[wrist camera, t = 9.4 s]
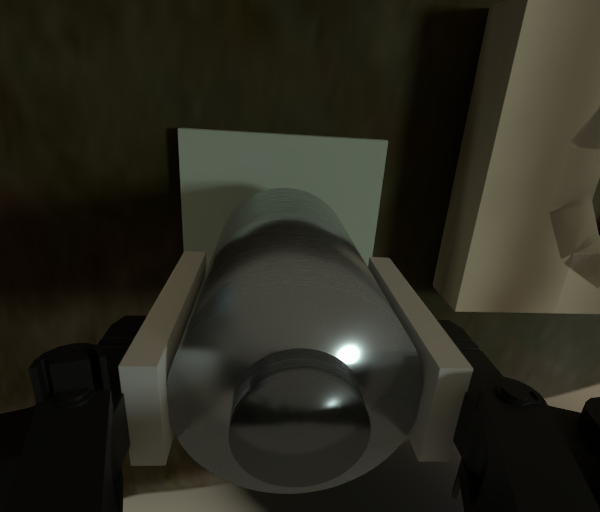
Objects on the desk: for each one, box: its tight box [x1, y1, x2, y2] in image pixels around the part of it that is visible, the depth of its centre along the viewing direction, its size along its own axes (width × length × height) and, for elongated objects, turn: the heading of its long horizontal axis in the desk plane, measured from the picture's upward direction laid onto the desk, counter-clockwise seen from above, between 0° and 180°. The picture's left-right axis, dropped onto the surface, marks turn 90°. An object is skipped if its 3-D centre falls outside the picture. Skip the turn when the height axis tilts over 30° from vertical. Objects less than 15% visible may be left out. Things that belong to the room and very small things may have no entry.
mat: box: [178, 128, 388, 272], centre depth 21 cm, size 10×10×1 cm
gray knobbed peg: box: [166, 188, 423, 494], centre depth 13 cm, size 6×6×11 cm
